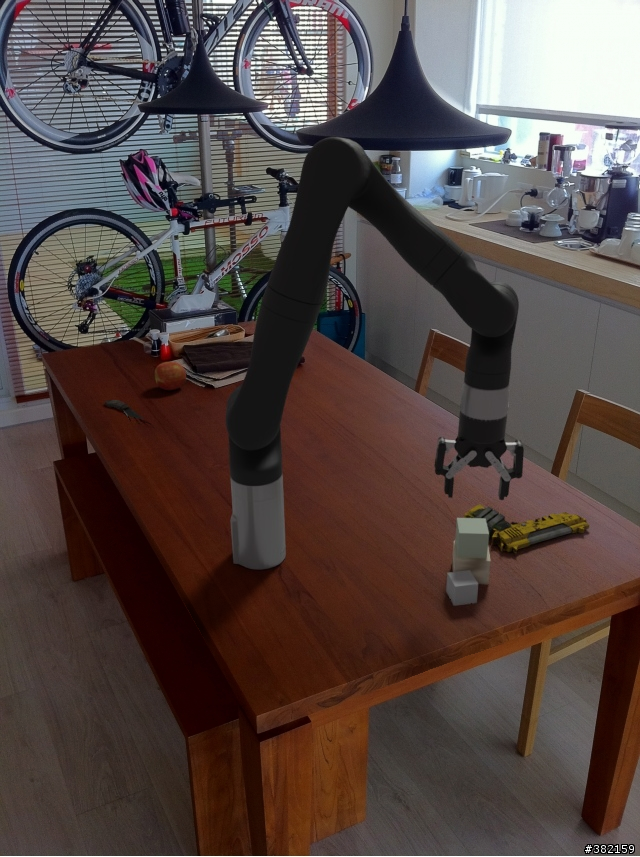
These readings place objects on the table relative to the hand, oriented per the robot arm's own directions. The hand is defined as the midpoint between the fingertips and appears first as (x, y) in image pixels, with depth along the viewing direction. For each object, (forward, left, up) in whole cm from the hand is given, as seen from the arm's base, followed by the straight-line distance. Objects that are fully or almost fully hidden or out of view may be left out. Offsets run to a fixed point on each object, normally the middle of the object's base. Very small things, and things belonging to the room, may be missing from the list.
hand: (475, 496), depth 133 cm
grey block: (-2, -7, -16) cm, 17 cm away
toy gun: (+12, +17, -17) cm, 27 cm away
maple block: (0, 0, -16) cm, 16 cm away
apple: (-76, +84, -16) cm, 115 cm away
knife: (-81, +63, -16) cm, 104 cm away
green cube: (0, 0, -11) cm, 11 cm away
